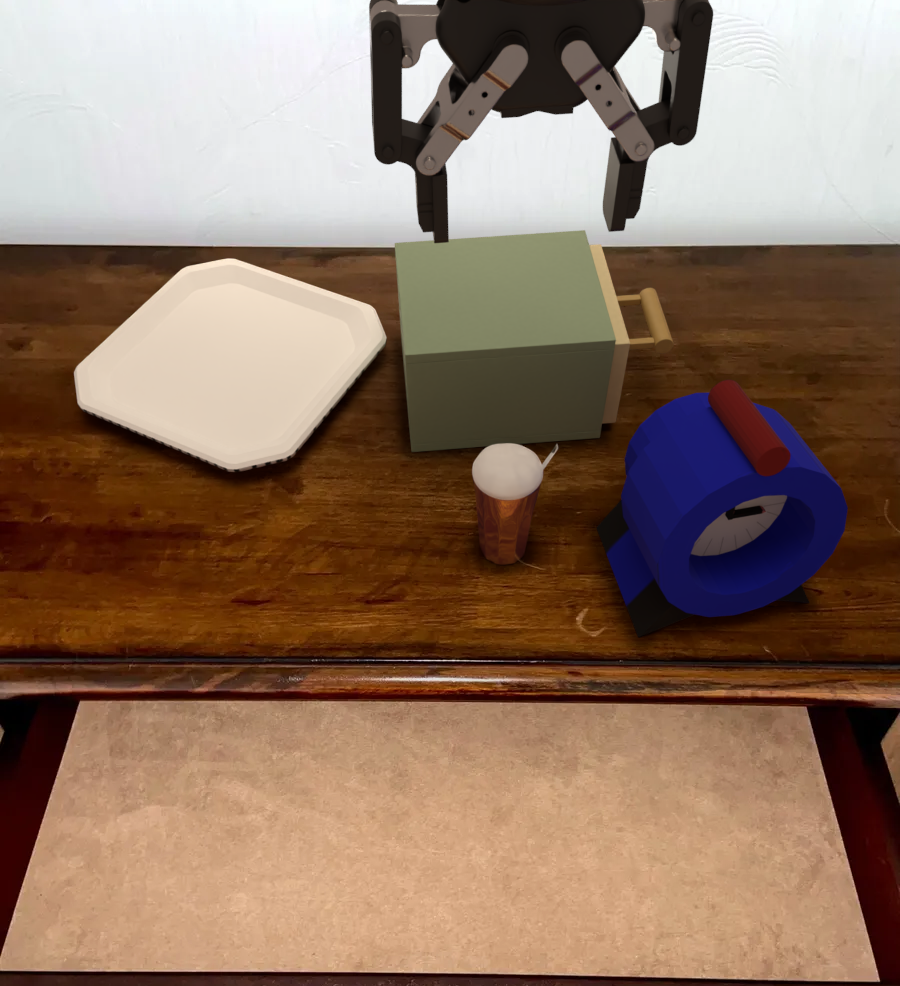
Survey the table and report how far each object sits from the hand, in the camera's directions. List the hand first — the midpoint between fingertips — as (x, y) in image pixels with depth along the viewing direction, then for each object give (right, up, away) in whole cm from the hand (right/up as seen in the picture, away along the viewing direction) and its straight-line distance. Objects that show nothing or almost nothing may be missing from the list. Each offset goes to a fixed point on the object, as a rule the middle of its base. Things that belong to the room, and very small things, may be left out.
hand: (527, 227), depth 46 cm
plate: (-21, 0, +32) cm, 38 cm away
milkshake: (0, -15, +21) cm, 26 cm away
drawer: (+4, 0, +29) cm, 30 cm away
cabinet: (0, -1, +30) cm, 30 cm away
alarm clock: (+14, -15, +20) cm, 29 cm away
